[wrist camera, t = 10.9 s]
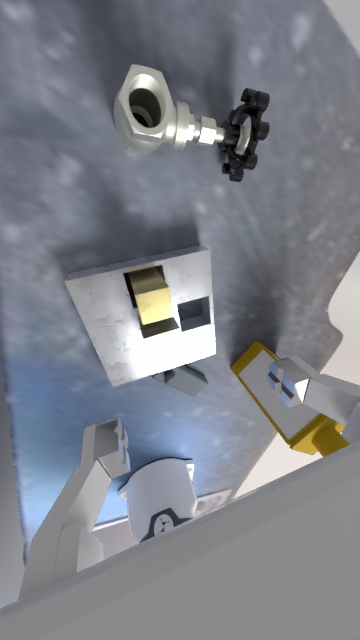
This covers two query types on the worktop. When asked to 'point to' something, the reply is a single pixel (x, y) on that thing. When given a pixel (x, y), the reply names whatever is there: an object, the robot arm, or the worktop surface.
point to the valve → (186, 121)
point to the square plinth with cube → (125, 321)
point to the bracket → (182, 379)
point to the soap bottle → (292, 423)
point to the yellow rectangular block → (151, 295)
